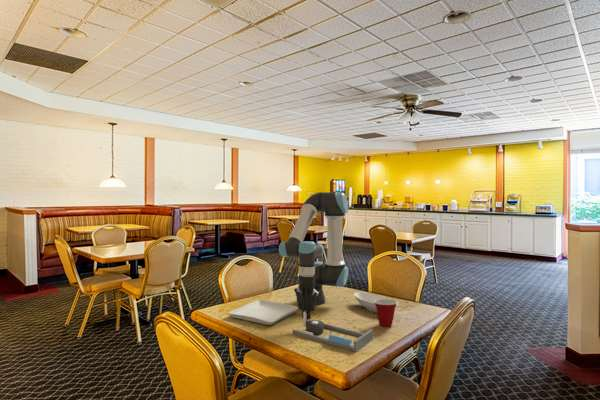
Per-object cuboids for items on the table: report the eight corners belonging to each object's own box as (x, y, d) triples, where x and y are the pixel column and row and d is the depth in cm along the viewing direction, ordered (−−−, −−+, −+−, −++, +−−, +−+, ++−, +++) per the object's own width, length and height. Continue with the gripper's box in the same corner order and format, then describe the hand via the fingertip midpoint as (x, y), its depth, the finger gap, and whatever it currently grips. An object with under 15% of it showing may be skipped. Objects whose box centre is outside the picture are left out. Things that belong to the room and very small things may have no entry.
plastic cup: (388, 320, 176) (388, 296, 176) (401, 328, 166) (401, 302, 166) (369, 323, 172) (369, 298, 172) (382, 330, 162) (382, 305, 162)
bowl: (405, 315, 185) (405, 303, 185) (385, 320, 177) (385, 308, 177) (365, 301, 210) (365, 290, 210) (346, 305, 202) (346, 294, 202)
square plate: (258, 305, 201) (258, 298, 201) (300, 313, 187) (300, 306, 187) (226, 319, 177) (226, 311, 177) (271, 329, 164) (271, 321, 164)
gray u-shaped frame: (292, 333, 158) (292, 324, 158) (312, 323, 171) (312, 315, 171) (355, 352, 139) (355, 342, 139) (372, 339, 152) (373, 329, 152)
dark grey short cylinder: (302, 332, 160) (302, 322, 160) (312, 327, 166) (312, 317, 166) (317, 336, 155) (317, 326, 155) (326, 331, 161) (326, 321, 161)
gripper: (290, 274, 164) (290, 325, 164) (313, 278, 156) (313, 331, 156) (300, 271, 170) (299, 320, 170) (322, 275, 162) (322, 326, 162)
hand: (306, 325), depth 163 cm, fingers closed
